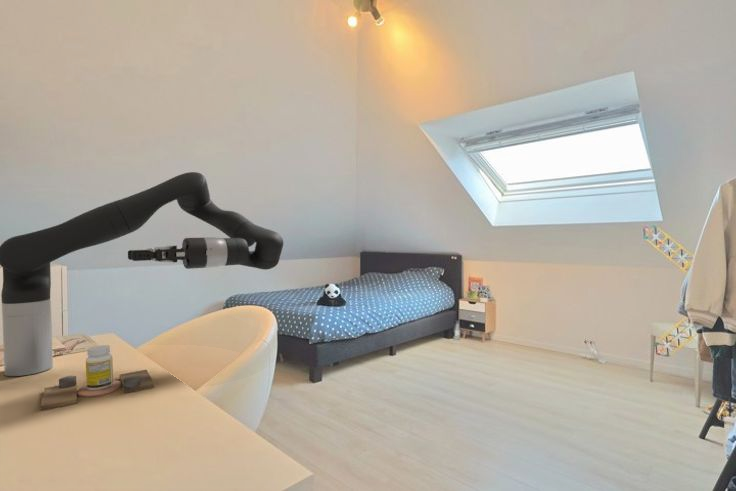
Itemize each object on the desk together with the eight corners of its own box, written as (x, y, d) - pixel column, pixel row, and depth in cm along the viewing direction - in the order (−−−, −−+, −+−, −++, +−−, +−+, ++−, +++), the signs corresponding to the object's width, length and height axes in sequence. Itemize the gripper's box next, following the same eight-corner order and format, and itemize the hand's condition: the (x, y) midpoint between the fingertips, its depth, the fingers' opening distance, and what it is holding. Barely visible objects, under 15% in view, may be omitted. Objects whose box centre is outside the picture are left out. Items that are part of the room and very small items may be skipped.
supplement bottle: (95, 383, 89) (93, 344, 89) (117, 382, 90) (116, 343, 90) (81, 391, 85) (80, 350, 84) (105, 390, 85) (104, 349, 85)
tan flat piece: (44, 391, 86) (44, 380, 86) (146, 372, 97) (146, 362, 97) (40, 410, 76) (40, 397, 76) (154, 387, 87) (154, 376, 87)
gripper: (197, 237, 108) (126, 239, 98) (212, 237, 96) (132, 238, 87) (198, 266, 108) (127, 270, 98) (213, 269, 96) (133, 273, 87)
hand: (129, 255), depth 93 cm, fingers open, 8 cm apart
